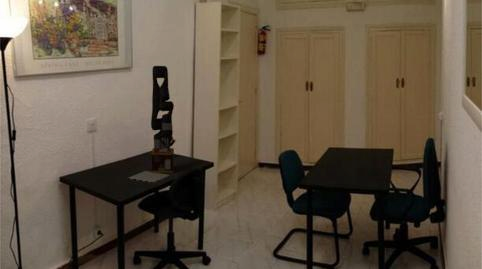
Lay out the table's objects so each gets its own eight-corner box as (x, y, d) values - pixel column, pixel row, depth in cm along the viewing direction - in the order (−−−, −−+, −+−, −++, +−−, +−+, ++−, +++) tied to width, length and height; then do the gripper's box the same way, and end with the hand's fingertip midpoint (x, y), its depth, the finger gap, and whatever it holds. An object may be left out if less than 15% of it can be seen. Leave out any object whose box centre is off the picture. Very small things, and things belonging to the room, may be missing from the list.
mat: (127, 178, 332) (127, 177, 332) (145, 171, 349) (145, 171, 349) (153, 183, 322) (153, 182, 322) (170, 175, 339) (169, 175, 339)
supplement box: (152, 167, 354) (152, 147, 349) (174, 168, 355) (173, 148, 351) (151, 172, 344) (151, 152, 339) (173, 173, 345) (173, 152, 341)
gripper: (156, 128, 349) (157, 151, 352) (171, 130, 343) (172, 153, 346) (163, 126, 355) (163, 149, 359) (177, 128, 349) (178, 151, 353)
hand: (168, 151), depth 353 cm, fingers closed
